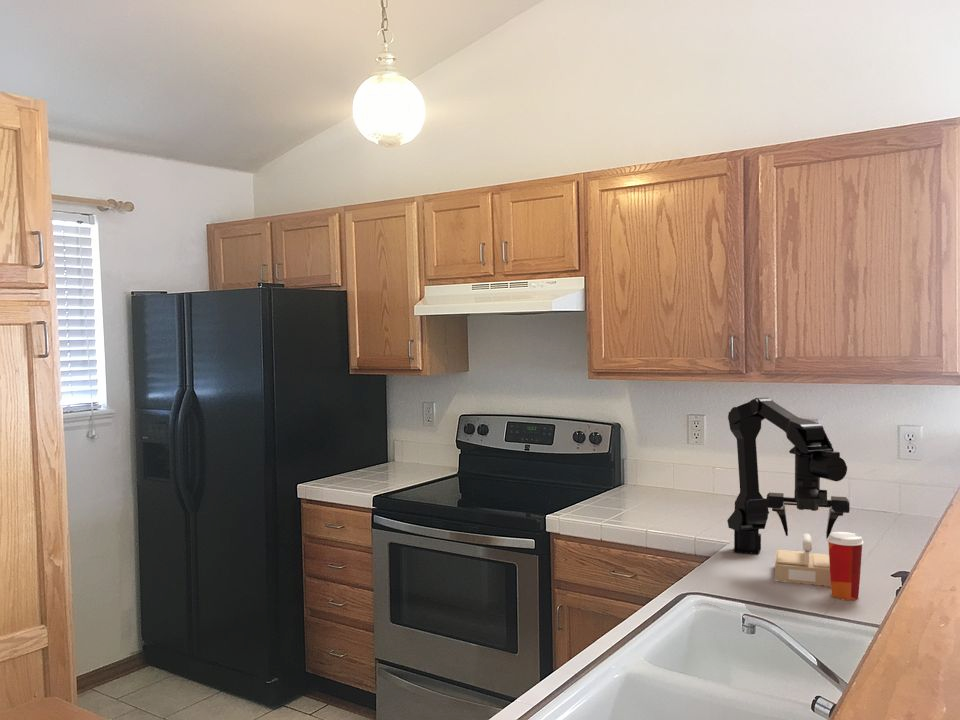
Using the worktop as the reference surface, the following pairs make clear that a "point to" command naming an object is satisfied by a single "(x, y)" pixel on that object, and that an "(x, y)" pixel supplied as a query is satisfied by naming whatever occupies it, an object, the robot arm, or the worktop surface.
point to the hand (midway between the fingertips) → (806, 537)
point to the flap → (796, 553)
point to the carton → (805, 571)
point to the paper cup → (845, 564)
